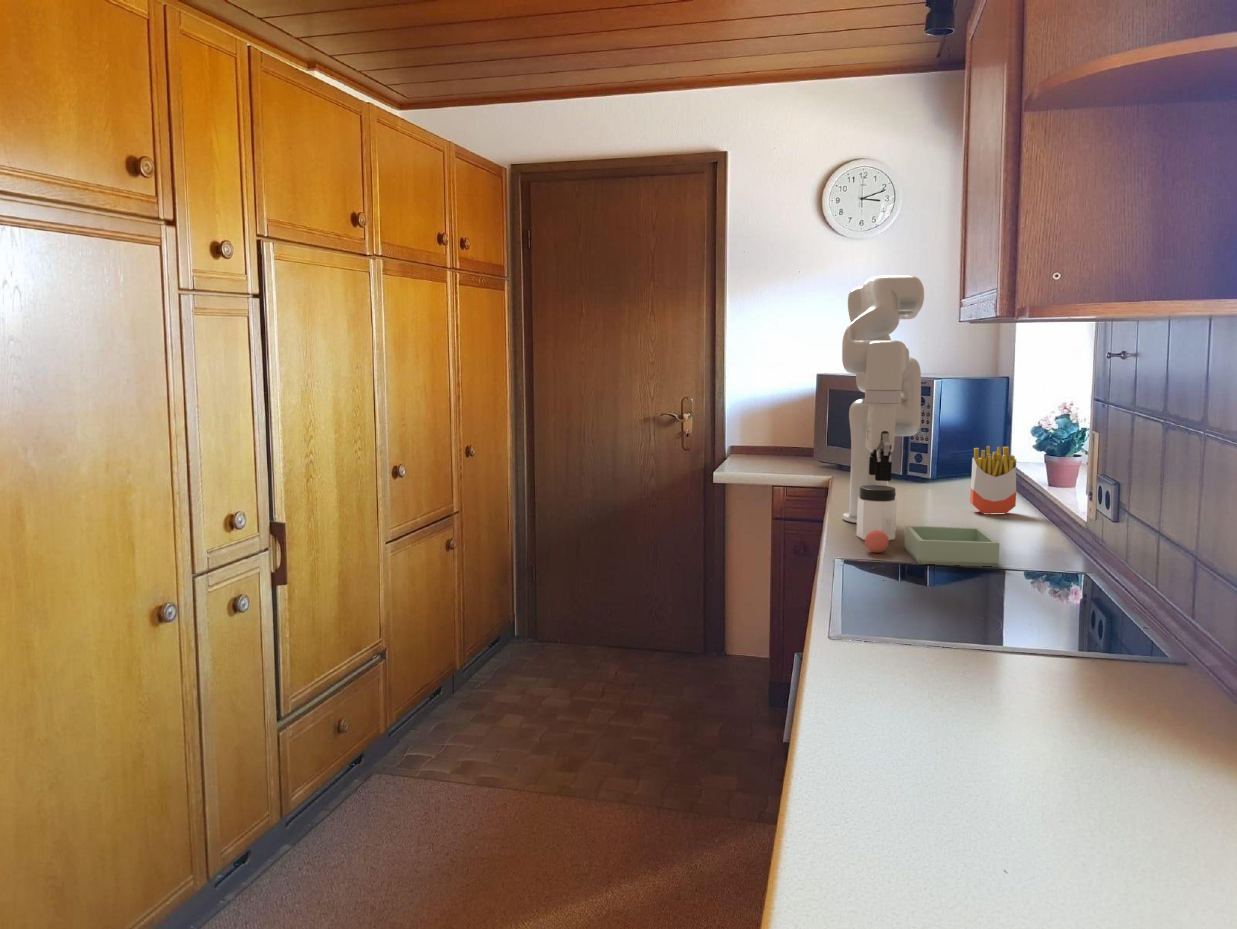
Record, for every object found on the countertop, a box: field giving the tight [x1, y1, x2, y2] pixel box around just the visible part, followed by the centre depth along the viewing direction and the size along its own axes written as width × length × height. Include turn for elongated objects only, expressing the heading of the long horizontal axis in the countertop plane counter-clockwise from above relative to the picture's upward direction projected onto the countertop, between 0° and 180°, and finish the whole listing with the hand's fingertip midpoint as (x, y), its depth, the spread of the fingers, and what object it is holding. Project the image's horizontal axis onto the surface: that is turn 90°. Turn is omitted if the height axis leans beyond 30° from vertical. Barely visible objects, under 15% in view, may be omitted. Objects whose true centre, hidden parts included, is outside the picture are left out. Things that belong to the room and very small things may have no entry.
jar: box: [855, 485, 898, 541], centre depth 219 cm, size 9×8×12 cm
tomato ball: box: [864, 530, 890, 554], centre depth 204 cm, size 5×5×5 cm
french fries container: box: [969, 445, 1017, 514], centre depth 251 cm, size 5×11×18 cm, turn 79°
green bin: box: [904, 525, 1000, 568], centre depth 200 cm, size 16×16×5 cm
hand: (879, 477), depth 202 cm, fingers open, 9 cm apart
